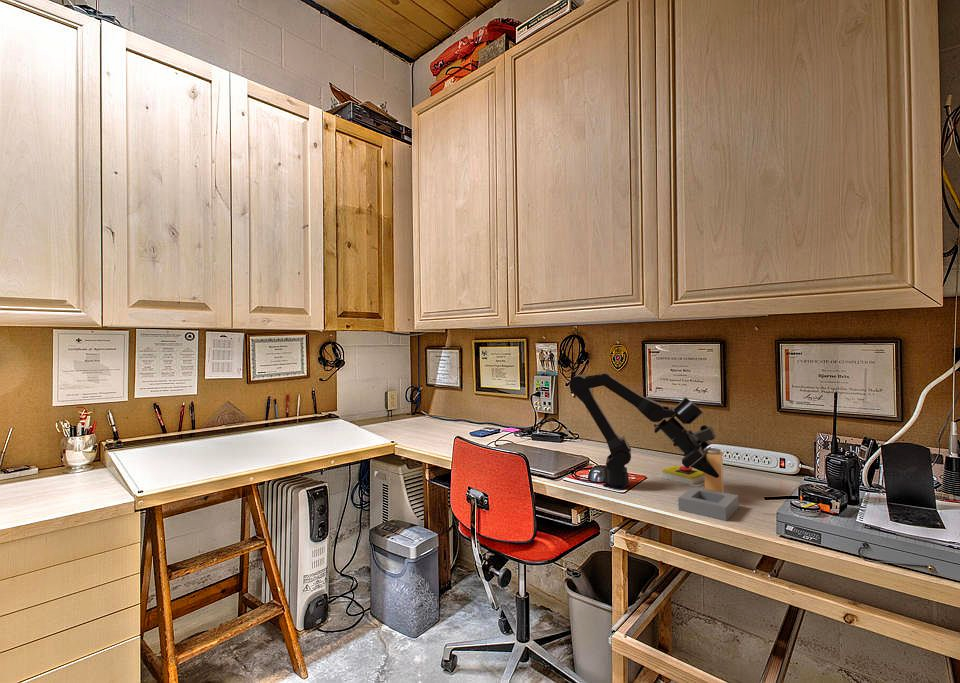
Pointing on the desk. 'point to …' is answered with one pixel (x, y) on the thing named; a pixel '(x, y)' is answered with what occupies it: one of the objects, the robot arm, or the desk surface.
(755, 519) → the desk surface
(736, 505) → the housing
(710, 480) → the orange bar
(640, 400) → the robot arm
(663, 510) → the desk surface
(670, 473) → the emergency button
